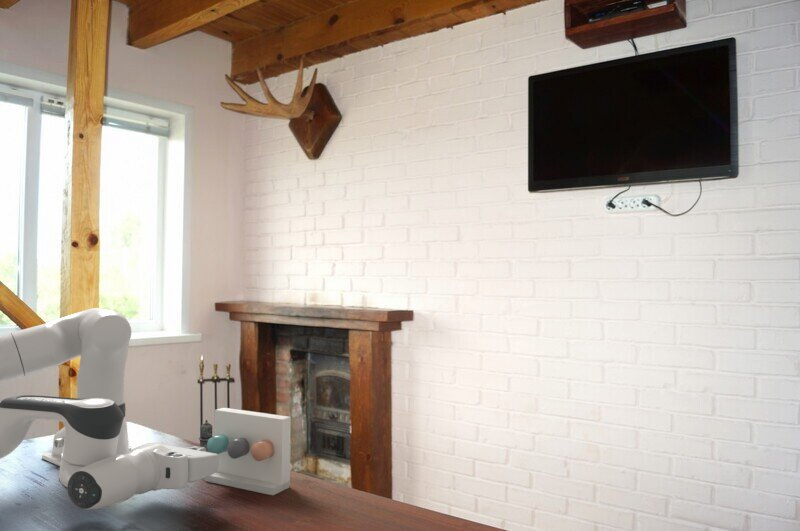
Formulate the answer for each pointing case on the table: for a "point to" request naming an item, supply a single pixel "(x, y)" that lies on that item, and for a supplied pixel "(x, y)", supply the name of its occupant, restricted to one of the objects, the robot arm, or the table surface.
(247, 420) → the console
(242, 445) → the charcoal button
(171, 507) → the table surface
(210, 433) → the grey stone chess piece
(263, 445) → the terracotta button
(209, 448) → the teal button
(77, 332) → the robot arm
